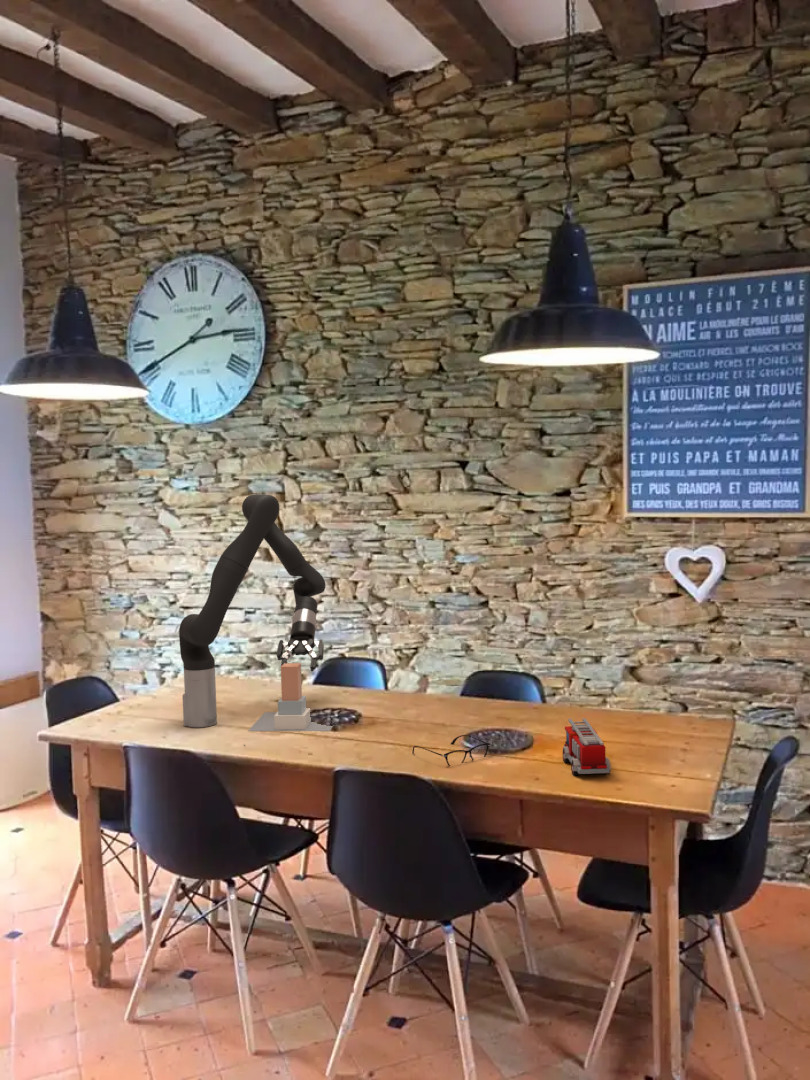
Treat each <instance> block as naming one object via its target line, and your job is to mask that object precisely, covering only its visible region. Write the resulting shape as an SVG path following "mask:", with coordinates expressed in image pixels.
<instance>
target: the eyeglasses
mask: <svg viewBox="0 0 810 1080" xmlns="http://www.w3.org/2000/svg"><path fill="white" fill-rule="evenodd" d="M462 737H468V738H469V737H470V738H471V739H474V740H477V741H479V742H481V743H482V744H481V743H480V744H478V745H476V746H473V747H471V748H470V749H467V750H465V749H459V750H458V749H457V750H452V751H449V752H446V753H444V754H441V753H438V752H437V751H433V750H430V749H428V748H424V747H421V746H418V745H414V746H413V747H412V755H414V754H415V748H419V749H422V750H425V751H428V752H430V753H433V754H435V755H438V756H441V757H443V758H445V762H446V764H447V766H451V764H450V763H449V761H448V760H449V759H448V756H449V755H451V754H453V753H457V752H460V753H461V752H463V753H464V755H463V758H462V761H461V764H463V763H464V762H465V760H466V757H467V756H468V757H469V758H470V759H471V760H472V761H475V759H474V758H473V756H472V751H473V750H475V749H477V748H478V747H481V746H486V749H485V752H484V755H483V758H485V757H486V756H487V754H488V750H489V748H490V746H491V744H490V743H489V742H485V741H483V740H481V739H478V738H477V737H473V736H471V735H469V734H468V735H467V734H462V735H458V736H457V737H455V738H454V739H453V740H452V741H451V742H450V745H455V743H456V741H457V740H458V739H459V738H462ZM467 754H468V755H467Z"/></svg>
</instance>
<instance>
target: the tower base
mask: <svg viewBox="0 0 810 1080" xmlns="http://www.w3.org/2000/svg"><path fill="white" fill-rule="evenodd" d="M276 712H277V713H276V714H275V715H274V728H275V730H287V729H306V728H307V726H308V725H309V723H310V722H311V717H310V712H311V708H310V707H309V708H307V695H302V697H301V698H300V700H299V701H282V696H281V697H280V698H279V699H278V701H277V711H276Z"/></svg>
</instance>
